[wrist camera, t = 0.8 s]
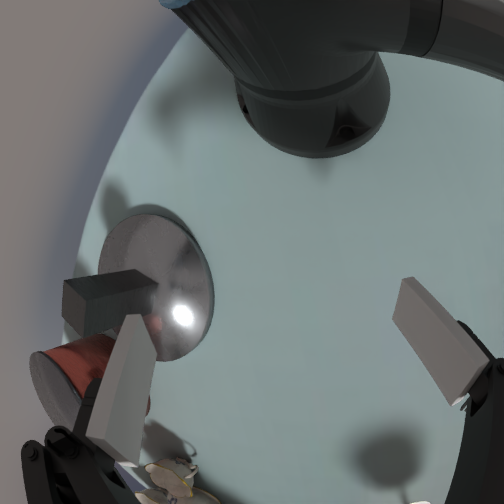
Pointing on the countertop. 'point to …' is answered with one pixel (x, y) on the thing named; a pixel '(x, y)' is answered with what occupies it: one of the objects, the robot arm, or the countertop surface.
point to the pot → (69, 375)
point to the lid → (146, 286)
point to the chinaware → (174, 484)
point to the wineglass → (422, 503)
